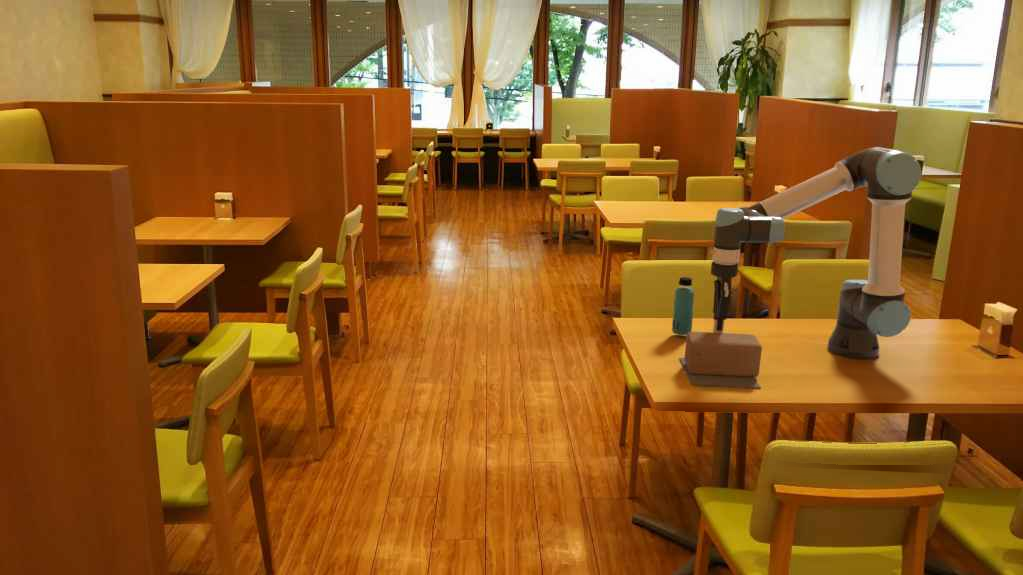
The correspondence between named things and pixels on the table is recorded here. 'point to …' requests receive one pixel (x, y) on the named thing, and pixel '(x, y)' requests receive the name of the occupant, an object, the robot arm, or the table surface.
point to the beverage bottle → (683, 307)
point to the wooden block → (722, 354)
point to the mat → (720, 380)
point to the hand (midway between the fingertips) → (717, 339)
